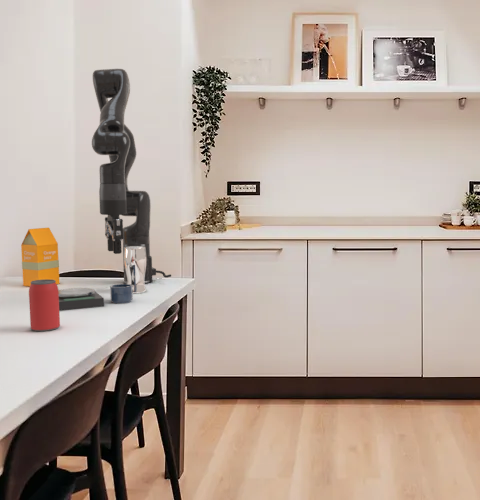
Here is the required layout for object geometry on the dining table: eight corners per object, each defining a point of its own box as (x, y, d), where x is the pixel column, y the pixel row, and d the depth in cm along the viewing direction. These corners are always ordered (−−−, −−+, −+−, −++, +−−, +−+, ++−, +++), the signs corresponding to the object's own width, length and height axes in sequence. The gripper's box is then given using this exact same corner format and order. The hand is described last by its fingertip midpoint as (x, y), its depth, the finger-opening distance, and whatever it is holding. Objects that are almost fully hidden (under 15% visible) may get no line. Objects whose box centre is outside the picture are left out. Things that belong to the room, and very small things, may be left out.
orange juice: (22, 285, 214) (19, 228, 212) (44, 282, 222) (41, 227, 220) (39, 287, 211) (36, 229, 209) (60, 283, 219) (57, 227, 217)
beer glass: (151, 290, 206) (150, 246, 205) (138, 294, 200) (136, 248, 198) (134, 289, 208) (133, 245, 207) (120, 292, 202) (119, 247, 200)
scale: (94, 298, 193) (93, 289, 192) (104, 306, 180) (103, 296, 180) (48, 302, 186) (48, 293, 185) (55, 311, 173) (55, 301, 173)
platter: (91, 289, 191) (91, 286, 191) (98, 294, 182) (97, 292, 182) (52, 292, 185) (52, 289, 185) (57, 298, 176) (57, 295, 176)
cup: (129, 299, 192) (129, 283, 191) (134, 302, 186) (134, 286, 186) (108, 301, 188) (108, 284, 188) (113, 304, 183) (112, 288, 182)
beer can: (51, 324, 157) (48, 278, 156) (65, 328, 153) (63, 280, 152) (25, 329, 152) (22, 281, 150) (39, 333, 148) (37, 284, 147)
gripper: (131, 199, 180) (132, 254, 182) (120, 198, 192) (122, 249, 194) (104, 199, 176) (105, 255, 178) (95, 198, 188) (97, 250, 190)
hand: (114, 252), depth 186 cm, fingers open, 8 cm apart
